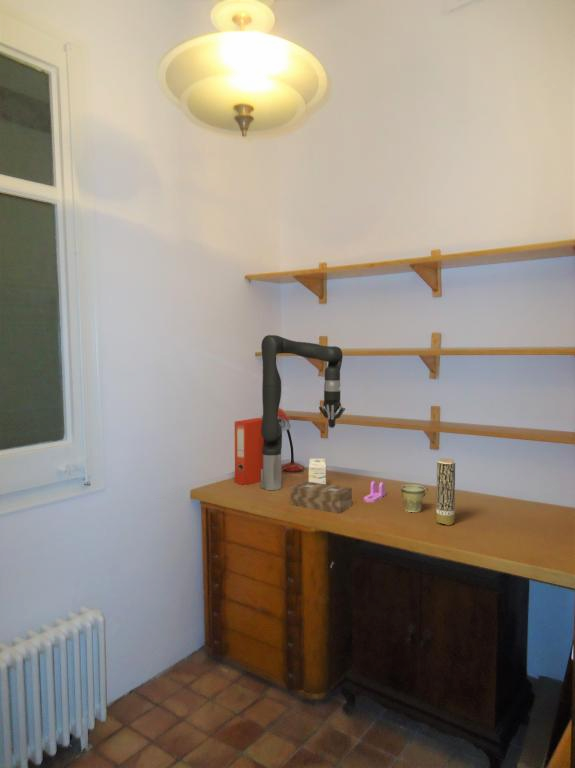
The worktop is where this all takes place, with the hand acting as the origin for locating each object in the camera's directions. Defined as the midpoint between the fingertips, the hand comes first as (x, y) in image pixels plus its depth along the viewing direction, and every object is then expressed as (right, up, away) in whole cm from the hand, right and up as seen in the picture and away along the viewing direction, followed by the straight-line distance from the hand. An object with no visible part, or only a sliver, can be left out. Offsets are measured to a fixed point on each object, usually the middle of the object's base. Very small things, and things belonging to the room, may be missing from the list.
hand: (331, 427), depth 241 cm
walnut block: (-6, -34, -11) cm, 36 cm away
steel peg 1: (-11, -33, -8) cm, 36 cm away
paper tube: (+42, -35, -35) cm, 65 cm away
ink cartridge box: (-6, -32, +16) cm, 36 cm away
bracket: (+19, -33, -1) cm, 38 cm away
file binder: (-39, -31, +31) cm, 58 cm away
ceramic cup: (+34, -34, -18) cm, 52 cm away
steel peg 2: (0, -34, -14) cm, 37 cm away
